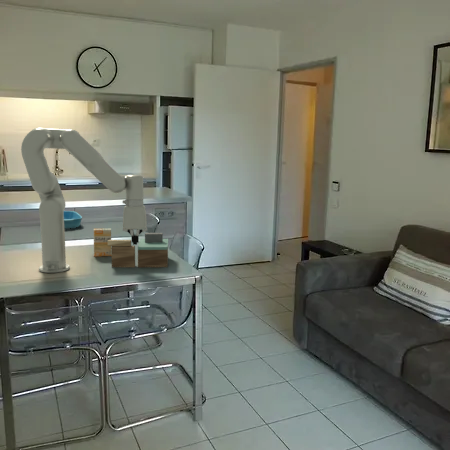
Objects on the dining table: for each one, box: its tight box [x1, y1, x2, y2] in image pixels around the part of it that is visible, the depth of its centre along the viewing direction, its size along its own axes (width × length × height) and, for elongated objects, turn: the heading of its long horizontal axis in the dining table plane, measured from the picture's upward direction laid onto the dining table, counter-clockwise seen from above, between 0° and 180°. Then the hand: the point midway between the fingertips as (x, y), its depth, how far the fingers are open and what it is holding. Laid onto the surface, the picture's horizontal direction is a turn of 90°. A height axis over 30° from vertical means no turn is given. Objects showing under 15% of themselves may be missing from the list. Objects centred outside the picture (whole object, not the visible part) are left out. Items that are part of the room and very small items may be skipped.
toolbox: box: [111, 245, 169, 268], centre depth 224 cm, size 18×24×9 cm
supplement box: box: [93, 228, 112, 258], centre depth 236 cm, size 8×5×13 cm, turn 105°
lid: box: [137, 232, 169, 251], centre depth 224 cm, size 18×13×5 cm
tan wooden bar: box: [108, 239, 132, 247], centre depth 215 cm, size 2×10×2 cm, turn 96°
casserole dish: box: [64, 210, 83, 230], centre depth 314 cm, size 37×22×7 cm, turn 27°
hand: (135, 244), depth 216 cm, fingers closed
